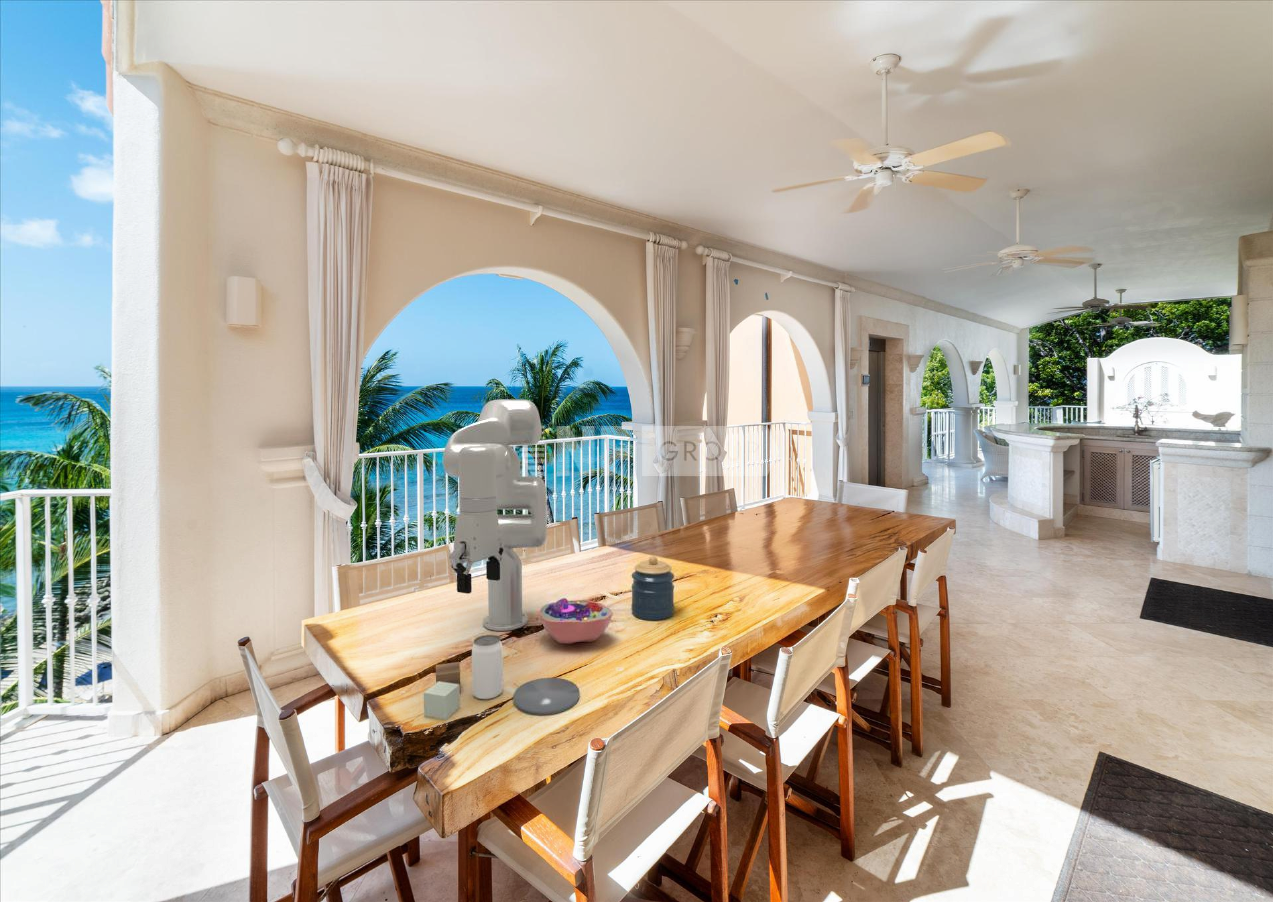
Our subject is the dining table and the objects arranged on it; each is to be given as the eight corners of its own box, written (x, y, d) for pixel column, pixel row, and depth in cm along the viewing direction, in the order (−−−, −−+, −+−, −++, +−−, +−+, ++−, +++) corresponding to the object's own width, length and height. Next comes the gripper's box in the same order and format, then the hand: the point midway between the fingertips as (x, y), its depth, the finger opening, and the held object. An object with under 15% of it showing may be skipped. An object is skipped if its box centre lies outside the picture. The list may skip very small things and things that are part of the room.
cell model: (603, 657, 142) (603, 613, 141) (528, 650, 146) (527, 607, 145) (619, 631, 158) (619, 591, 157) (551, 625, 162) (550, 586, 161)
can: (505, 685, 127) (505, 633, 126) (499, 700, 121) (498, 645, 120) (476, 685, 127) (475, 633, 126) (469, 700, 121) (468, 646, 120)
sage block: (439, 703, 119) (438, 681, 119) (459, 707, 118) (459, 684, 118) (424, 716, 115) (423, 692, 114) (445, 720, 113) (445, 696, 113)
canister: (626, 608, 176) (626, 552, 175) (665, 603, 180) (665, 549, 179) (638, 623, 164) (639, 563, 162) (680, 618, 168) (681, 560, 166)
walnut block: (436, 686, 127) (435, 665, 126) (459, 683, 128) (459, 661, 128) (436, 697, 122) (435, 675, 122) (460, 693, 124) (460, 671, 123)
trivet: (517, 682, 128) (517, 678, 128) (579, 680, 130) (579, 676, 130) (509, 716, 115) (509, 711, 115) (578, 713, 116) (578, 709, 116)
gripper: (488, 498, 127) (489, 573, 128) (434, 510, 111) (436, 595, 112) (516, 500, 125) (517, 577, 126) (466, 512, 109) (467, 600, 110)
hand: (479, 585), depth 119 cm, fingers open, 9 cm apart
